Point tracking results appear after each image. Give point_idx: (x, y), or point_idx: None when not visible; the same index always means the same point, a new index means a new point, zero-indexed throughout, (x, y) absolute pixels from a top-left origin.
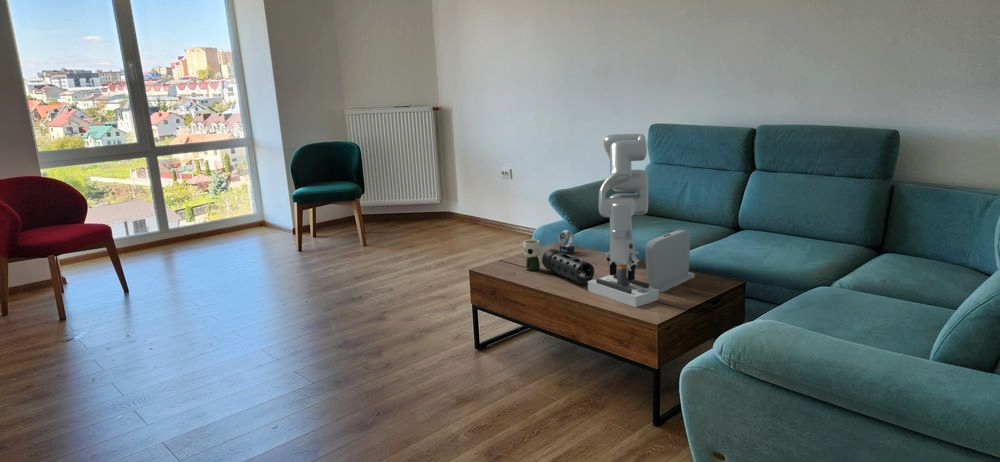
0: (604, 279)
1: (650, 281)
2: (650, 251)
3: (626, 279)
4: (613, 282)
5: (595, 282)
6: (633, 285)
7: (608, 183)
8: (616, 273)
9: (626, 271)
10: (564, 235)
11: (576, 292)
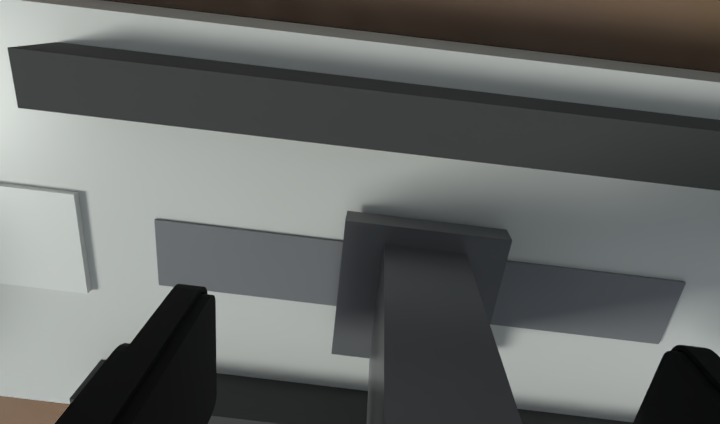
0: (57, 249)
1: None
2: None
3: (475, 290)
4: (242, 267)
5: (81, 381)
6: (556, 194)
7: None
8: (210, 297)
9: (511, 400)
10: None
11: (38, 400)
